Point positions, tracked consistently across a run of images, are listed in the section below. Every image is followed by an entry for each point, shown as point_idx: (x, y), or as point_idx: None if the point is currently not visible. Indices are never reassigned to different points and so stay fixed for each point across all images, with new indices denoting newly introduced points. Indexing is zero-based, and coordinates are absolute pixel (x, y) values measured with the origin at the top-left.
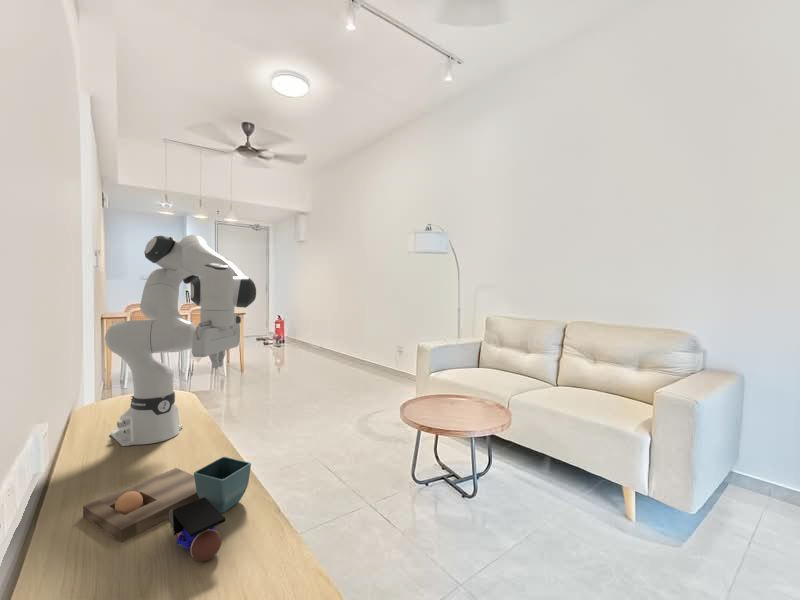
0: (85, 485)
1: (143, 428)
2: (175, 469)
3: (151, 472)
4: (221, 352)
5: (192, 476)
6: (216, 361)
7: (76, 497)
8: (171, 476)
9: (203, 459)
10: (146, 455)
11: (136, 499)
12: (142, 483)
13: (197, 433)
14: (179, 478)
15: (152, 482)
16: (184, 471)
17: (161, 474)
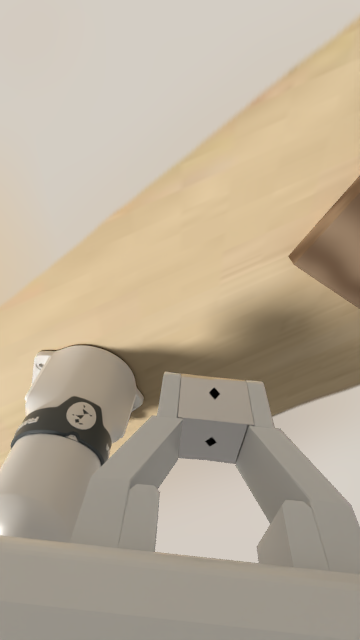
0: (286, 378)
1: (122, 401)
2: (303, 261)
3: (255, 311)
4: (155, 533)
5: (356, 203)
6: (284, 443)
7: (325, 369)
8: (340, 253)
9: (202, 235)
10: (178, 351)
11: None
12: (355, 295)
13: (59, 311)
14: (357, 230)
15: (358, 279)
16: (319, 236)
17: (322, 279)
